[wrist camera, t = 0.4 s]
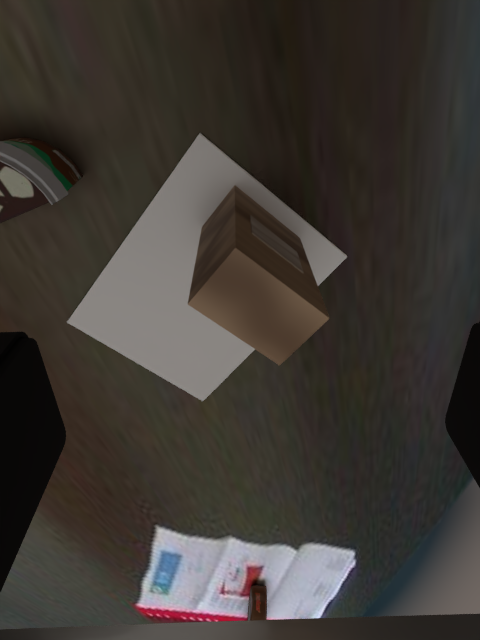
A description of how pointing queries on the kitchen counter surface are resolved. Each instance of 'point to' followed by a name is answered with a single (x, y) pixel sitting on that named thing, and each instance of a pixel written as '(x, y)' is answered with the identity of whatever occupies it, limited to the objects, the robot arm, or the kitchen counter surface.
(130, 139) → the kitchen counter surface
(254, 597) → the tin
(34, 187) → the food container
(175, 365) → the grey mat
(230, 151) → the kitchen counter surface
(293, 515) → the kitchen counter surface
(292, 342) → the walnut block
